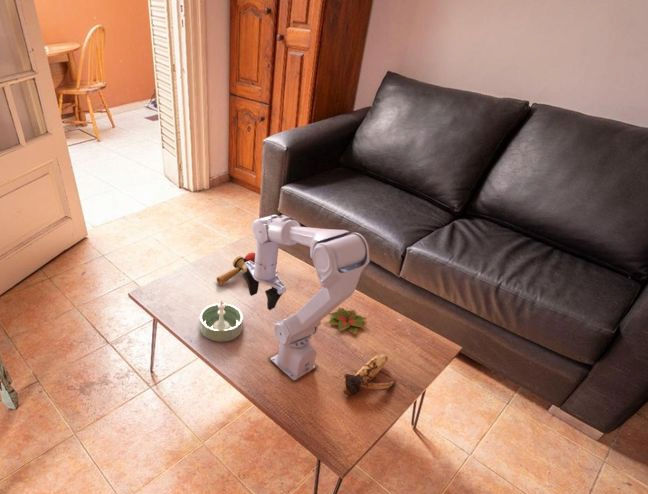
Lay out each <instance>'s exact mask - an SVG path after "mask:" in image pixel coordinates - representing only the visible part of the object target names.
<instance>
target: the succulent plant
mask: <svg viewBox="0 0 648 494" xmlns="http://www.w3.org/2000/svg"><path fill="white" fill-rule="evenodd" d="M328 315H330V316H331V317H332V318H330V320H329V321H328V322H327V324H329V325H335V326H338V333H339V332H341V331H343V330H347V331H348V332H351V333H352V334H354V335H355V336H356V335H357V332H358V327H359V328H362V329H366V326H365V324H364V323H363V322H364V321H365V320H366V319H367V317H364V316H362V315H358V314H357V312H356V311H355V309H354V310H349V308H348V307H347V308H346V309H344V307H342V308H341V307H340V306H338V309H337V310H336V311H335V312H330V313H329V314H328Z"/></svg>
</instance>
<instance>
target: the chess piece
mask: <svg viewBox="0 0 648 494" xmlns="http://www.w3.org/2000/svg"><path fill="white" fill-rule="evenodd" d="M218 303H220V304H219V305H218V308H219V311H218V314H219V315H220V316H219V320H217V321H216V322H214V324H213V329H217V330H226V329H229V328H230V325H229V323H228V322H227V321H225V320H224V317H223V315H224V314H225V311H224V308H225V305H224V303H225V304H226V302H225V301H223V299H220V300H218ZM218 303H217V304H218Z"/></svg>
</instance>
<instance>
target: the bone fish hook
mask: <svg viewBox="0 0 648 494" xmlns="http://www.w3.org/2000/svg"><path fill="white" fill-rule="evenodd" d="M387 361H388V355H387V354H386V353H379V354H376V355H375V356H374V357H372V358H371V359H370V360H368V361H367V362H366V363H365V364H364V365H363V366H362V367H361V368H360V369H359V370H358V371H357V372H356V373H355V374H349V373H344V375H343V377H344V379H345V380H344V383H345V387H344V388H343V394H344V395H345V396H347V397H348V398H349V397H350V398H351V397H353V396H356V395H357V394H359V393H360V391H361V390H366V391H370V392H371V391H373V392H377V391H384V390H387V389H390V388H391V387H392V386H393V385H394V382H395V381H394V380H392V381H389V382H381V383H380V382H379V383H375V382H371V381H372V380H373V379H374V378H376V376H377V375H378V373H379V372H380V371H381V370H382V369H383V367H384V366H385V364H386V363H387Z"/></svg>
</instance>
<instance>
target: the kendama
mask: <svg viewBox="0 0 648 494" xmlns="http://www.w3.org/2000/svg"><path fill="white" fill-rule="evenodd" d="M248 261H252V262H254V263H255V252H249V253H247V254H246V255H245V256H241V255H239V256H237V257H235V258H234V259H233V261H232V267H233V269H230V270H228V271H227V272H225V273H222V274H221V275H219V276H217V277H216V282H217V283H218V284H219V286H223V285H224V284H225V283H227V282H228V281H230V280H231V279H232V278H234V277H235V276H236V275H238V274H239V273H240V272H241V271H242V274H243V273H245V272H247V270H246V269H245V268H244V266H245V262H248Z"/></svg>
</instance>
